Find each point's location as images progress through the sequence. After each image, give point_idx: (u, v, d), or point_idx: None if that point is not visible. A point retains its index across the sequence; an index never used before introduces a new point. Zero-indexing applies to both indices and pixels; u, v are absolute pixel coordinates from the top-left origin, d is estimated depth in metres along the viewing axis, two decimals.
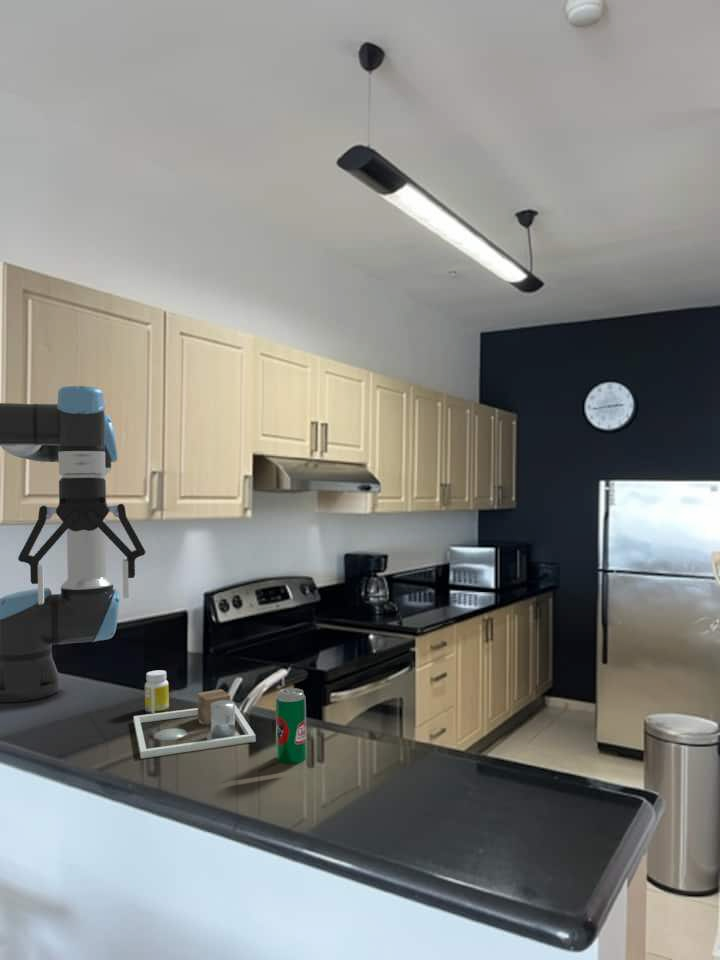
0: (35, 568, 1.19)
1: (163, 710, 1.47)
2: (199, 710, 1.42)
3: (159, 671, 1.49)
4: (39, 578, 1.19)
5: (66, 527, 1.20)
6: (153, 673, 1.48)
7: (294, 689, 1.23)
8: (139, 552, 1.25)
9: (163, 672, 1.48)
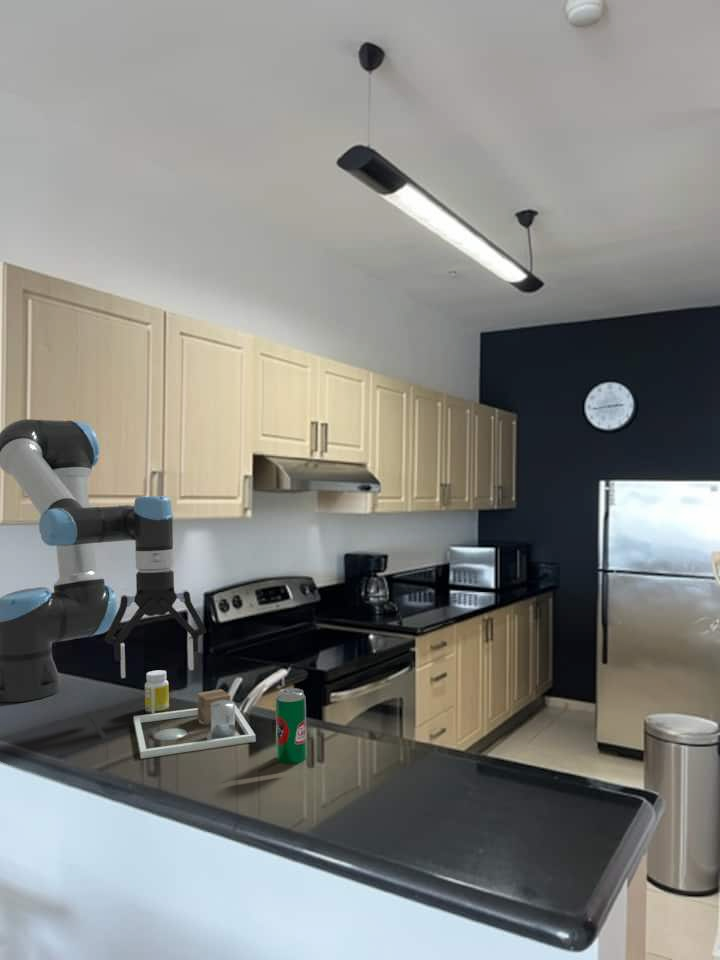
0: (118, 648, 1.45)
1: (163, 710, 1.47)
2: (199, 710, 1.42)
3: (159, 671, 1.49)
4: (122, 656, 1.44)
5: (143, 613, 1.46)
6: (153, 673, 1.48)
7: (294, 689, 1.23)
8: (201, 631, 1.50)
9: (163, 672, 1.48)
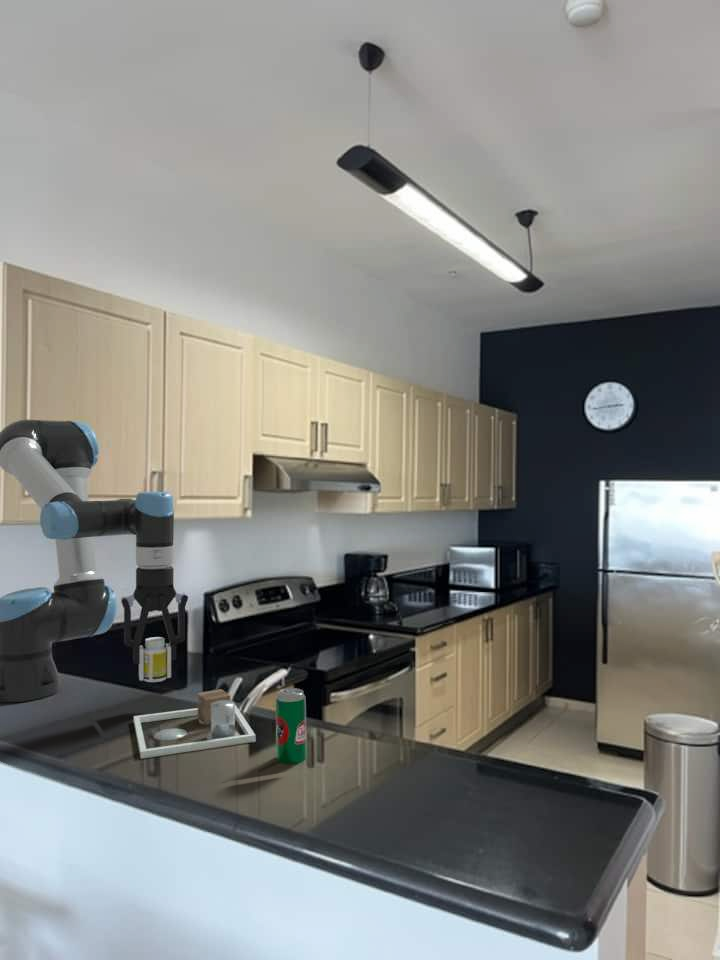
0: (137, 651, 1.47)
1: (161, 676, 1.47)
2: (199, 710, 1.42)
3: (158, 638, 1.49)
4: (140, 659, 1.46)
5: (147, 610, 1.46)
6: (152, 639, 1.48)
7: (294, 689, 1.23)
8: (180, 638, 1.49)
9: (162, 639, 1.49)
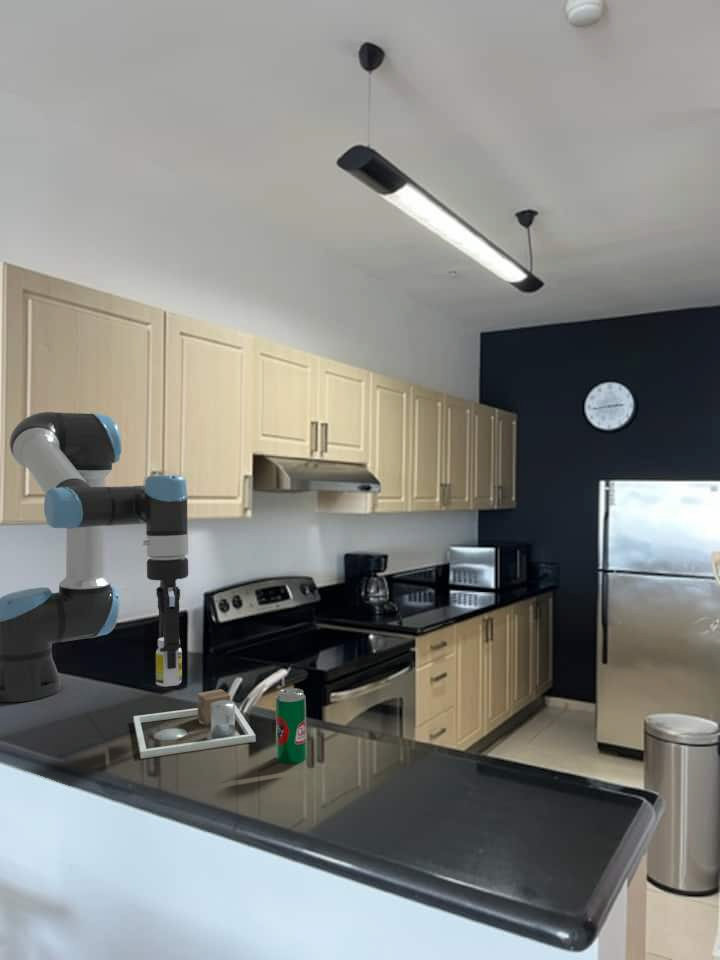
0: None
1: (157, 680, 1.32)
2: (199, 710, 1.42)
3: None
4: None
5: (158, 604, 1.35)
6: None
7: (294, 689, 1.23)
8: (165, 645, 1.28)
9: None
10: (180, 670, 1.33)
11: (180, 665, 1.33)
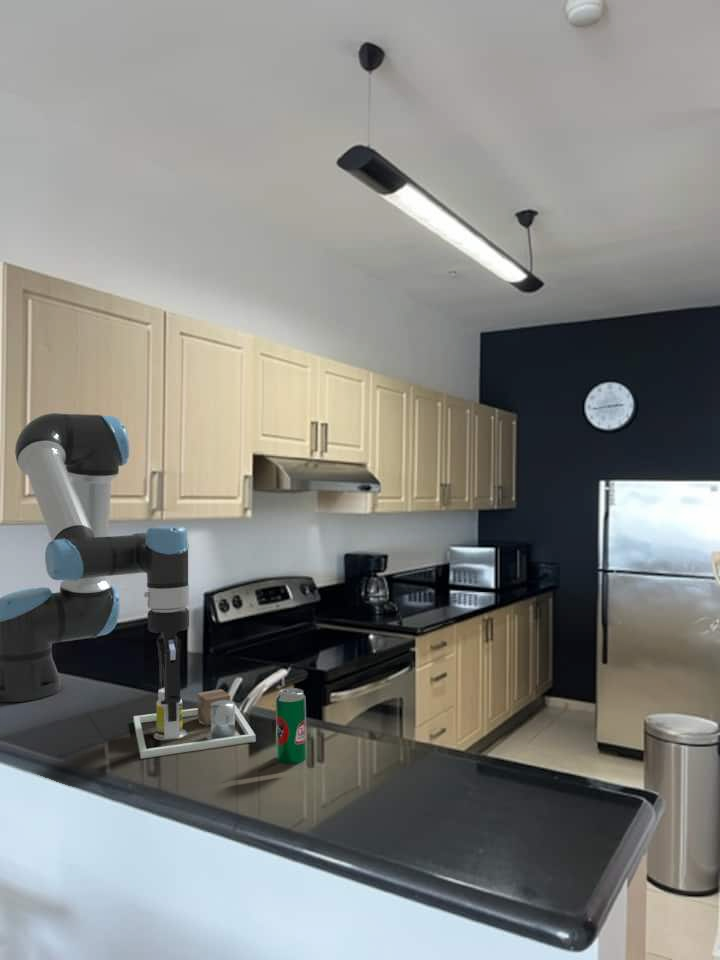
0: None
1: (158, 732, 1.32)
2: (199, 710, 1.42)
3: None
4: None
5: (158, 655, 1.35)
6: None
7: (294, 689, 1.23)
8: (165, 698, 1.29)
9: None
10: (181, 721, 1.33)
11: (181, 716, 1.33)
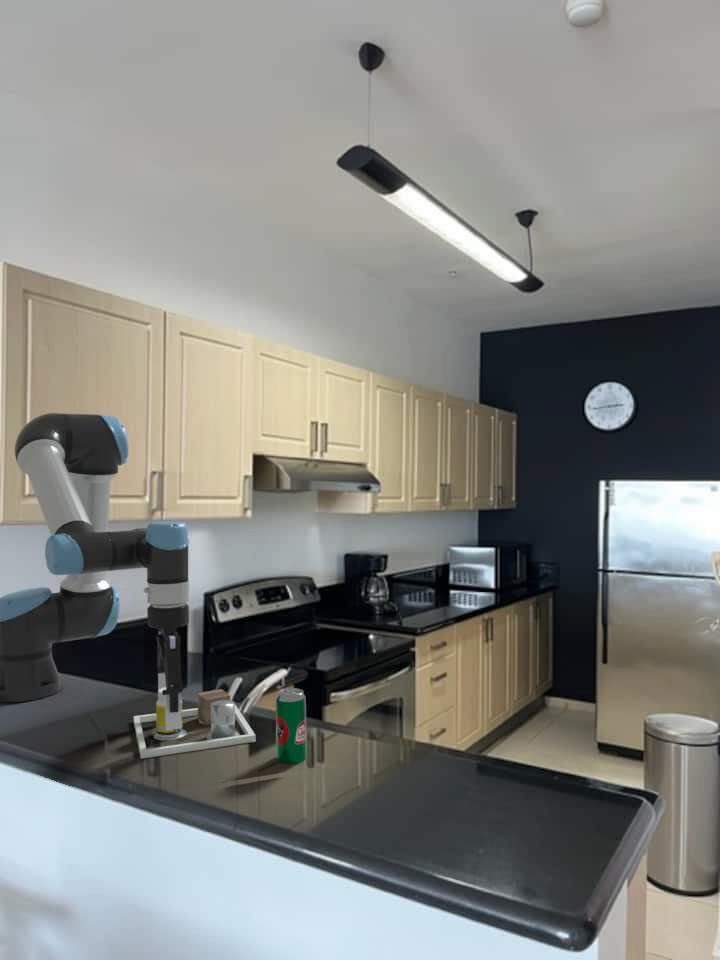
0: None
1: (158, 732, 1.32)
2: (199, 710, 1.42)
3: None
4: (158, 684, 1.40)
5: (158, 647, 1.36)
6: None
7: (294, 689, 1.23)
8: (167, 689, 1.25)
9: None
10: (181, 721, 1.33)
11: None
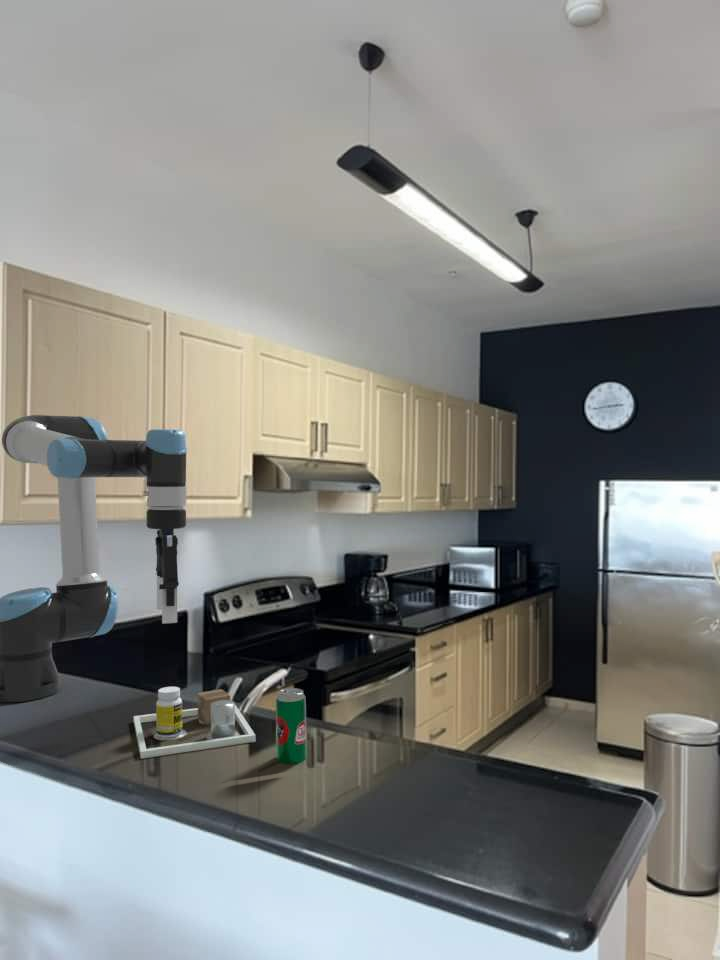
0: None
1: (158, 732, 1.32)
2: (199, 710, 1.42)
3: (173, 690, 1.33)
4: (157, 588, 1.47)
5: (156, 550, 1.42)
6: (166, 688, 1.34)
7: (294, 689, 1.23)
8: None
9: (167, 691, 1.32)
10: (181, 721, 1.33)
11: (180, 716, 1.33)
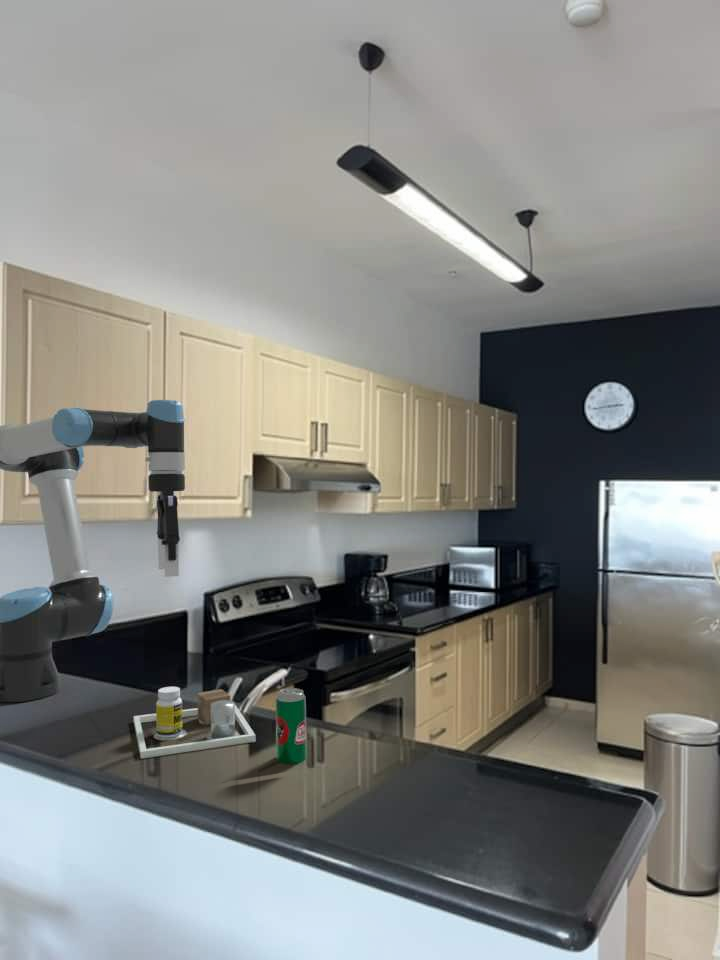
0: None
1: (158, 732, 1.32)
2: (199, 710, 1.42)
3: (173, 690, 1.33)
4: (158, 549, 1.58)
5: (157, 512, 1.54)
6: (166, 688, 1.34)
7: (294, 689, 1.23)
8: (166, 539, 1.43)
9: (167, 691, 1.32)
10: (181, 721, 1.33)
11: (180, 716, 1.33)
